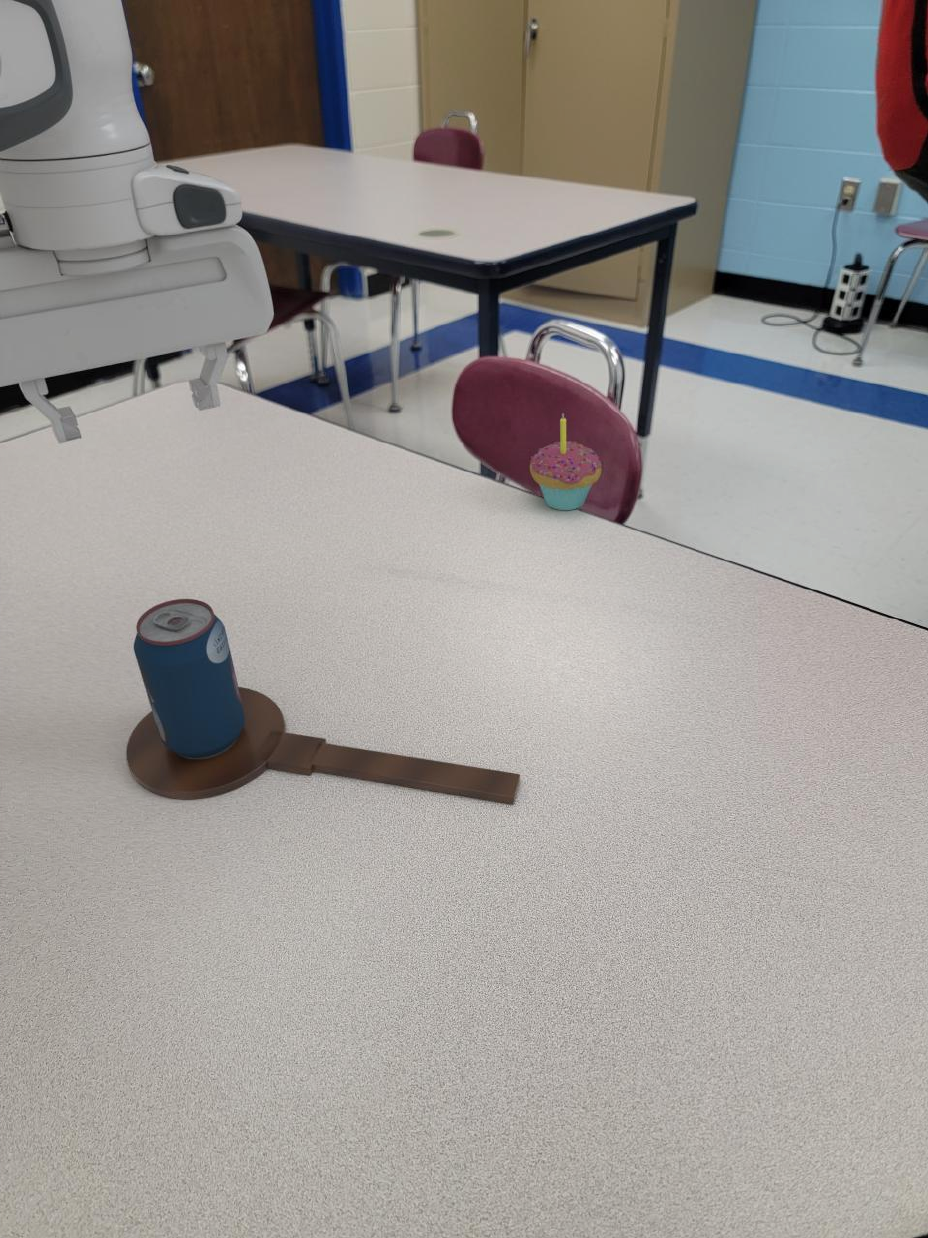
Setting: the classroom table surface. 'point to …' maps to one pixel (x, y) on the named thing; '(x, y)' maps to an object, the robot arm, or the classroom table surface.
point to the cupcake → (565, 471)
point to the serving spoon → (295, 761)
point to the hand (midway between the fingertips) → (140, 422)
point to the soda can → (189, 678)
